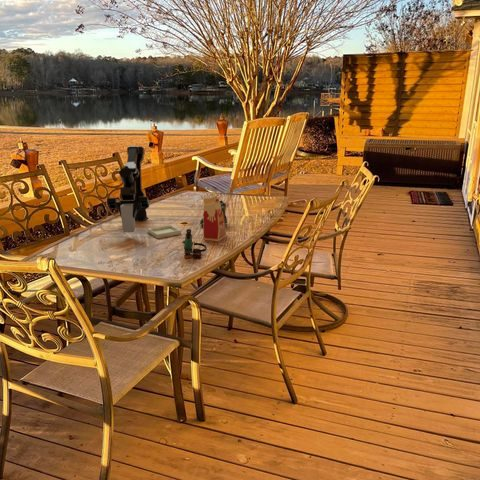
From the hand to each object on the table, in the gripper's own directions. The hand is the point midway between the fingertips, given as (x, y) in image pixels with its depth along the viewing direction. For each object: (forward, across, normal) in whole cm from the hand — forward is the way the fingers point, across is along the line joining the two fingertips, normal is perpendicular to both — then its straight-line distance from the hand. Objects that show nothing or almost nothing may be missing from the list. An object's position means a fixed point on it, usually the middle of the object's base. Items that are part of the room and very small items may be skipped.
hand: (127, 218), depth 211 cm
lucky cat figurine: (-6, +39, +20) cm, 44 cm away
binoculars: (+27, +32, -13) cm, 44 cm away
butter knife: (+31, +19, -16) cm, 40 cm away
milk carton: (+10, +39, +4) cm, 41 cm away
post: (+4, 0, +6) cm, 7 cm away
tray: (+3, +16, +11) cm, 20 cm away
